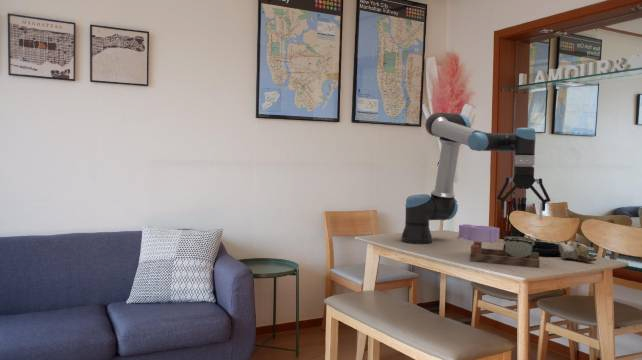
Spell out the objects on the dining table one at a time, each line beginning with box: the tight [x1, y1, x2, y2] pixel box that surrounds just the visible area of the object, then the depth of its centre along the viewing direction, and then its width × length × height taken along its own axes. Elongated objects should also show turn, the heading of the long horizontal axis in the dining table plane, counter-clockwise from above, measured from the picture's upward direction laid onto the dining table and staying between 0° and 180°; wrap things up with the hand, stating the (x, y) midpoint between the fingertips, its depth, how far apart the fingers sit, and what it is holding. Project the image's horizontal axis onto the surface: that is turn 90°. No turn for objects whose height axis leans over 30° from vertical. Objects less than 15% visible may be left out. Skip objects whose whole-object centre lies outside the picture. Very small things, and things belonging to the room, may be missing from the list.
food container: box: [502, 235, 535, 259], centre depth 213 cm, size 12×6×10 cm, turn 48°
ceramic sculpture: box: [558, 240, 598, 262], centre depth 220 cm, size 11×9×15 cm
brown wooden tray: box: [469, 241, 540, 268], centre depth 215 cm, size 26×17×6 cm
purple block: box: [458, 223, 500, 243], centre depth 273 cm, size 20×12×7 cm, turn 47°
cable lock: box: [503, 240, 561, 258], centre depth 239 cm, size 28×4×30 cm
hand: (522, 218), depth 212 cm, fingers open, 13 cm apart
